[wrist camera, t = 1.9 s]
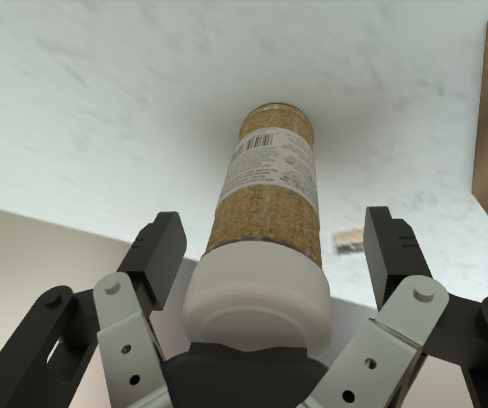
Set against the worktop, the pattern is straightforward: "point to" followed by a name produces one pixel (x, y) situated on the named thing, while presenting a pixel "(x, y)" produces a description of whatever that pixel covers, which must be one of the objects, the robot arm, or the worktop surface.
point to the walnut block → (482, 142)
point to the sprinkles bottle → (264, 245)
